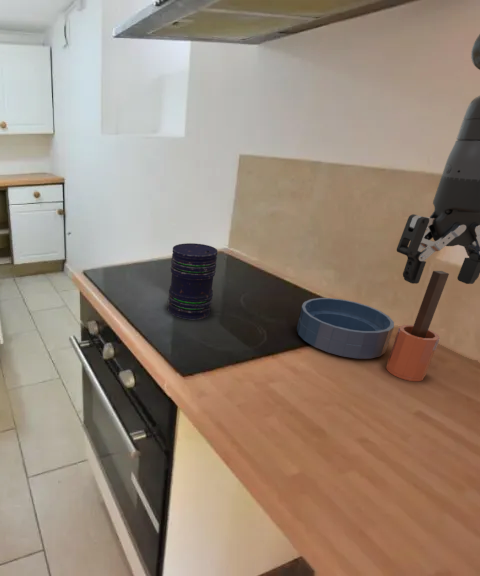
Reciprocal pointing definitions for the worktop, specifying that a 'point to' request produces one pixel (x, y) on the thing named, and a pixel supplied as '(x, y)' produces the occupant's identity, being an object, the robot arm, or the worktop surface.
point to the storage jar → (192, 280)
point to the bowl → (345, 328)
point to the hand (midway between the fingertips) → (437, 282)
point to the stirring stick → (429, 303)
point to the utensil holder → (411, 354)
